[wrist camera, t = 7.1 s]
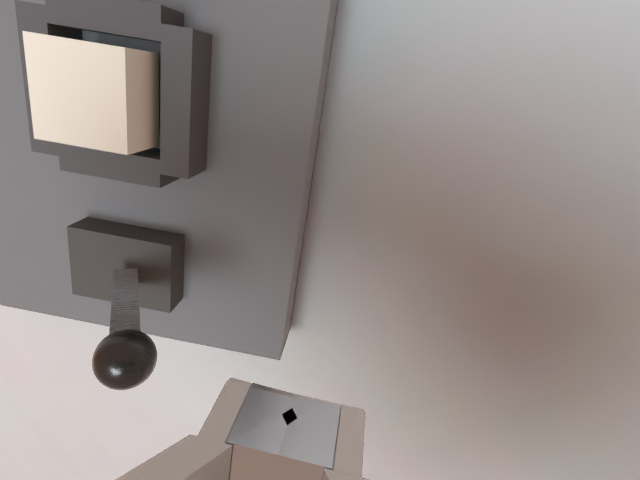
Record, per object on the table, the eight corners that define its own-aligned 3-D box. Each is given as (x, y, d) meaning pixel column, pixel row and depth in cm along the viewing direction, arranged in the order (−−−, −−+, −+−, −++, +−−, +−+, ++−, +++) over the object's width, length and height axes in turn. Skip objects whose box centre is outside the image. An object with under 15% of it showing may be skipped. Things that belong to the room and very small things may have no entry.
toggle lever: (148, 257, 19) (159, 349, 13) (149, 295, 19) (158, 396, 14) (100, 259, 18) (88, 358, 12) (102, 299, 19) (91, 408, 13)
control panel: (370, -217, 15) (371, -348, 11) (289, 328, 25) (272, 385, 20) (-25, -269, 16) (-182, -411, 12) (40, 280, 25) (-33, 324, 21)
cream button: (159, 53, 16) (124, 47, 13) (159, 145, 17) (127, 154, 15) (70, 38, 16) (22, 30, 14) (77, 131, 17) (34, 138, 15)
